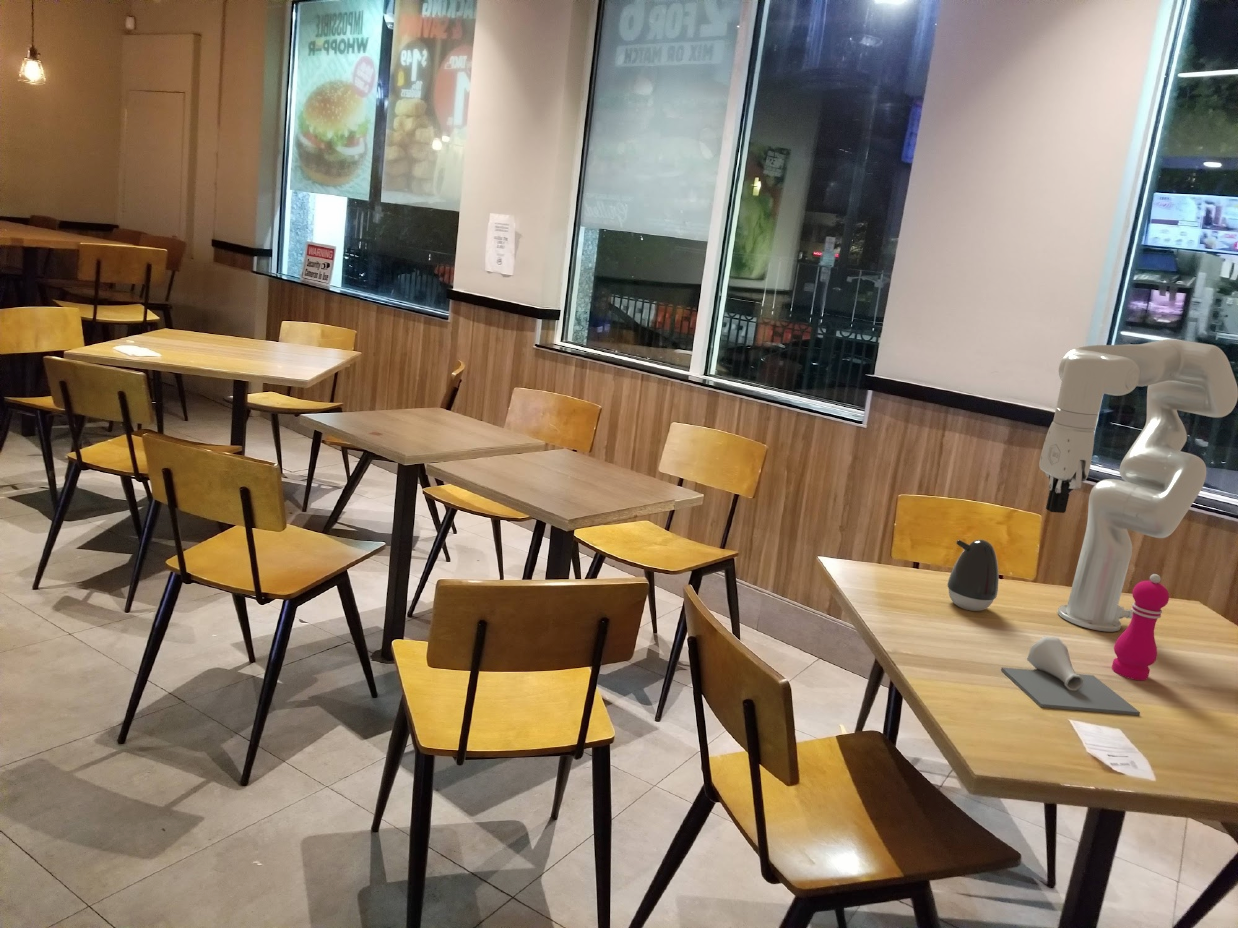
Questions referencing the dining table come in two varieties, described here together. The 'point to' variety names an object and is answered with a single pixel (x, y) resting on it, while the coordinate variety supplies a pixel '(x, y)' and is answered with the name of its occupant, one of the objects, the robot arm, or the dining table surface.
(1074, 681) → the flask
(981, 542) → the pump dispenser
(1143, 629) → the pepper mill
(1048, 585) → the dining table surface
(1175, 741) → the dining table surface
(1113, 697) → the rubber mat
